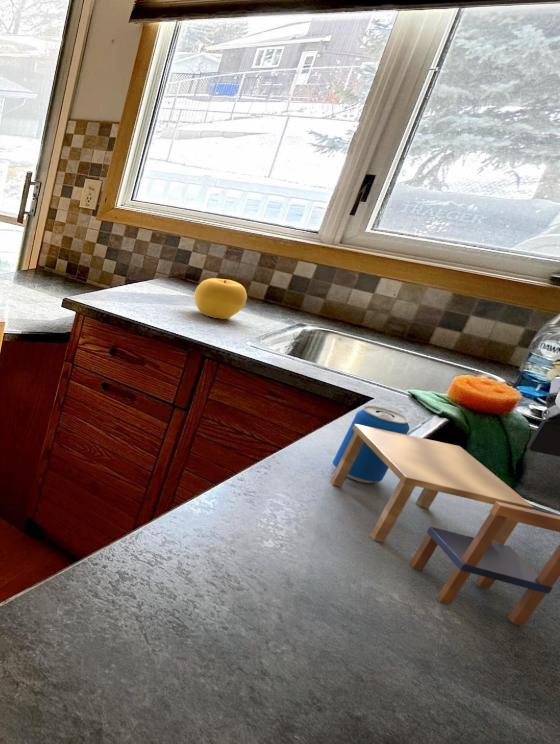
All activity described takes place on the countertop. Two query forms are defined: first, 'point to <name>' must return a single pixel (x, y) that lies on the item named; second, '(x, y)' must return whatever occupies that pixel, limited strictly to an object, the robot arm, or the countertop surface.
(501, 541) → the dining table
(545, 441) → the robot arm
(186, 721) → the countertop surface
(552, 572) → the chair
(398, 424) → the beverage can
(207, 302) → the apple
